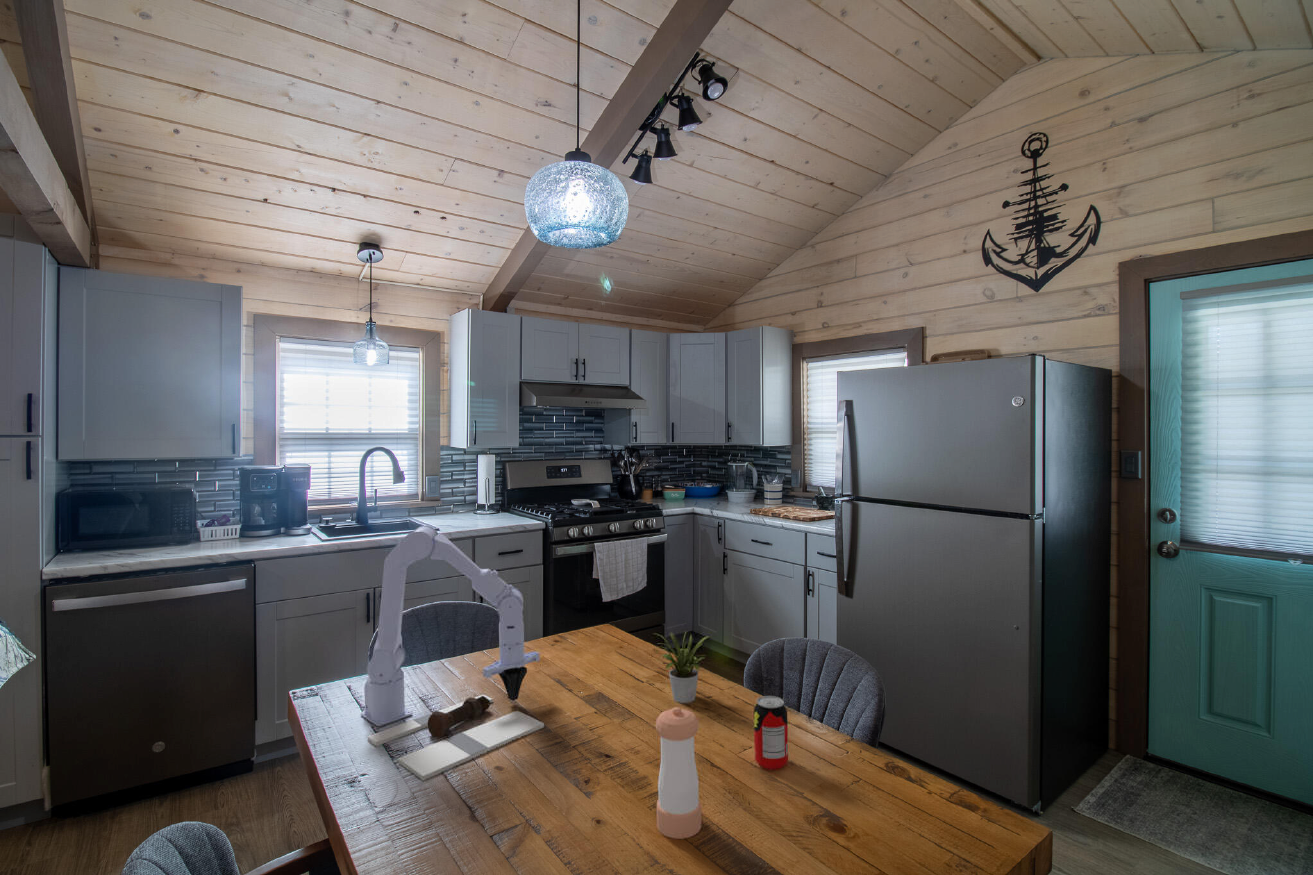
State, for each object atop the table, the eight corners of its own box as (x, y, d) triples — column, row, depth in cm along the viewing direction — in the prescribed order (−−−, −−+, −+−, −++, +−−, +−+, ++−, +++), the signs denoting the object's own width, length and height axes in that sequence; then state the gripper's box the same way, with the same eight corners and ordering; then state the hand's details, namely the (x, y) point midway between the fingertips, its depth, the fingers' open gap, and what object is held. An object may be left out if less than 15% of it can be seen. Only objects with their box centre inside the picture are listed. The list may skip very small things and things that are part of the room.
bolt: (488, 718, 149) (438, 745, 136) (474, 704, 151) (423, 729, 138) (497, 699, 148) (448, 723, 135) (483, 685, 150) (433, 707, 137)
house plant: (639, 706, 150) (638, 636, 150) (661, 684, 163) (660, 619, 162) (697, 715, 144) (696, 643, 144) (715, 691, 157) (714, 625, 157)
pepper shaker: (655, 813, 108) (652, 699, 108) (698, 809, 108) (695, 697, 108) (658, 840, 101) (656, 719, 100) (704, 837, 101) (702, 716, 101)
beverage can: (790, 757, 125) (789, 696, 125) (785, 774, 119) (784, 710, 119) (758, 753, 127) (756, 692, 127) (752, 769, 121) (750, 706, 121)
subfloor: (367, 740, 136) (367, 736, 136) (483, 697, 156) (483, 694, 156) (422, 780, 120) (422, 775, 120) (544, 726, 140) (543, 723, 140)
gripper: (494, 653, 144) (496, 713, 144) (546, 637, 155) (548, 693, 155) (477, 646, 149) (479, 705, 149) (529, 631, 159) (530, 685, 160)
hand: (513, 698), depth 152 cm, fingers closed
